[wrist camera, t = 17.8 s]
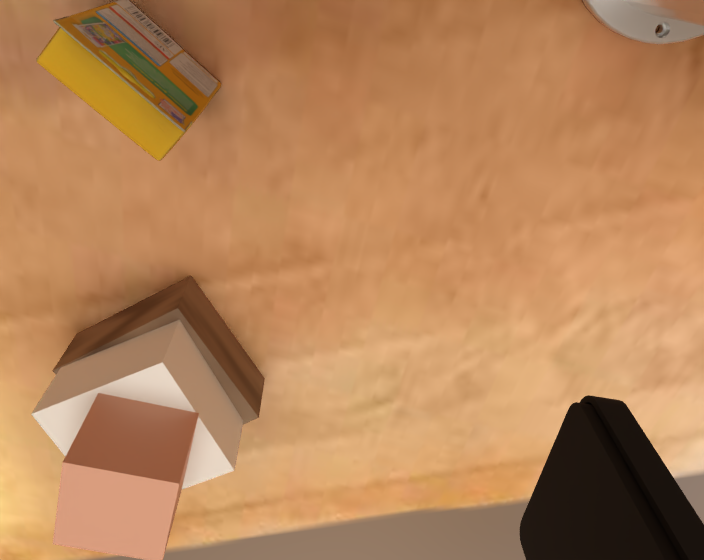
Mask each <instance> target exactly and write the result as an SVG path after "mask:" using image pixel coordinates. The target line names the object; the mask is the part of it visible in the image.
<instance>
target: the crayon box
mask: <svg viewBox="0 0 704 560" xmlns="http://www.w3.org/2000/svg"><path fill="white" fill-rule="evenodd" d="M53 21H54V23H55V24H56V25H58V26H59V29H58V30H57V31H56V33H55V34H54V36H53V37H52V38H51V40H50V41H49V43H48V44H47V45H46V47H45V48H44V50H43V51H42V53H41V54H40V55H39V56H38V58H37V63H39V64H40V65H41V66H42V67H43V68H45V69H46V70H47V71H48V72H49V73H51V74H52V75H53V76H54V77H56V78H57V79H58V80H59V81H60V82H62V83H63V84H64V85H65V86H67V87H68V88H69V89H70V90H71V91H72V92H74V93H75V94H76V95H77V96H79V97H80V98H81V99H82V100H84V101H85V102H86V103H87V104H88V105H90V106H91V107H92V108H93V109H94V110H95V111H97V112H98V113H99V114H101V115H102V116H103V117H104V118H105V119H107V120H108V121H109V122H110V123H112V124H113V125H114V126H115V127H116V128H118V129H119V130H120V131H121V132H123V133H124V134H125V135H126V136H128V137H129V138H130V139H131V140H132V141H134V142H135V143H136V144H137V145H139V146H140V147H141V148H143V149H144V150H145V151H146V152H148V153H149V154H150V155H151V156H153V157H154V158H155V159H157V160H158V161H161V160H162V159H163V158H164V157H165V156H166V154H167V153H168V152H169V151H170V150H171V149H172V148H173V146H174V145H175V144H176V143H177V142H178V141H179V140H180V138H181V137H182V136H183V135H184V134H185V132H186V131H187V130H188V129H189V128H190V127H191V125H192V124H193V123H194V121H195V120H196V119H197V117H198V116H199V115H200V114H201V112H202V111H203V110H204V109H205V107H206V106H207V105H208V103H209V102H210V100H211V99H212V98H213V96H214V95H215V94H216V92H217V91H218V90H219V89H220V87H221V83H220V82H219V81H218V80H217V79H216V78H214V77H213V76H212V75H211V74H210V73H209V72H208V71H207V70H205V69H204V68H203V67H202V66H201V65H200V64H199V63H198V62H197V61H195V60H194V59H193V58H192V57H191V56H190V55H189V54H188V53H186V52H185V51H184V50H183V49H182V48H181V47H180V46H179V45H178V44H177V43H176V42H175V41H174V40H172V39H171V38H170V37H169V36H168V35H167V34H166V33H165V32H164V31H163V30H161V29H160V28H159V27H158V26H157V25H156V24H155V23H153V22H152V21H151V20H150V19H149V18H148V17H147V16H146V15H145V14H143V13H142V12H141V11H140V10H139V9H138V8H137V7H136V6H135V5H134V4H133V3H131V2H130V1H129V0H118V1H115V2H113V3H110V4H106V5H103V6H100V7H97V8H94V9H90V10H87V11H84V12H81V13H78V14H74V15H71V16H68V17H63V18H61V19H56V20H53Z"/></svg>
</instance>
